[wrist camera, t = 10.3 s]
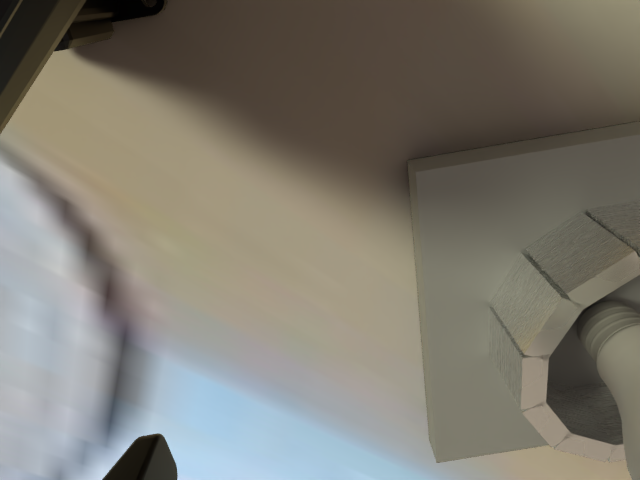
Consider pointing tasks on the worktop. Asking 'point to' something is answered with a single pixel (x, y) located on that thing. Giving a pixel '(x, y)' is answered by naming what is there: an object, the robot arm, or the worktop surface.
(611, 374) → the lightbulb
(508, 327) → the socket collar
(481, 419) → the socket plate
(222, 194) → the worktop surface
